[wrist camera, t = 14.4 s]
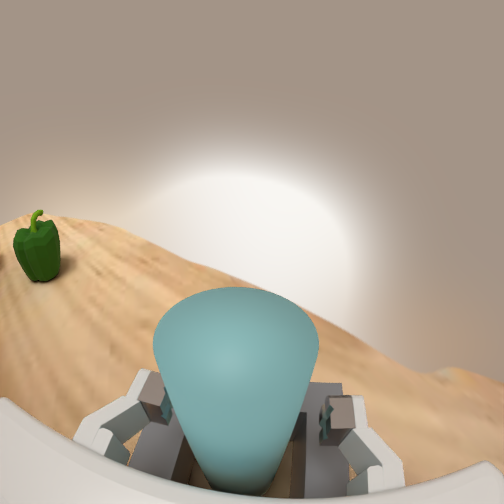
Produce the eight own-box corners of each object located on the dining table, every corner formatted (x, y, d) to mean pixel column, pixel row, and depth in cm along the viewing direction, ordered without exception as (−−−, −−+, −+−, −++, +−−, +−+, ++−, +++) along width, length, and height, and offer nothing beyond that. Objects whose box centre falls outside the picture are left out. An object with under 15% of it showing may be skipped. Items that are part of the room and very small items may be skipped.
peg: (202, 455, 15) (153, 296, 9) (261, 444, 17) (283, 279, 10) (215, 507, 12) (157, 417, 5) (280, 493, 13) (348, 375, 6)
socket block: (322, 548, 8) (349, 547, 6) (138, 523, 9) (110, 514, 7) (324, 416, 19) (341, 383, 17) (180, 399, 20) (170, 363, 18)
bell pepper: (36, 295, 29) (15, 230, 24) (18, 278, 32) (2, 221, 27) (77, 269, 36) (63, 208, 31) (55, 256, 39) (43, 202, 34)
